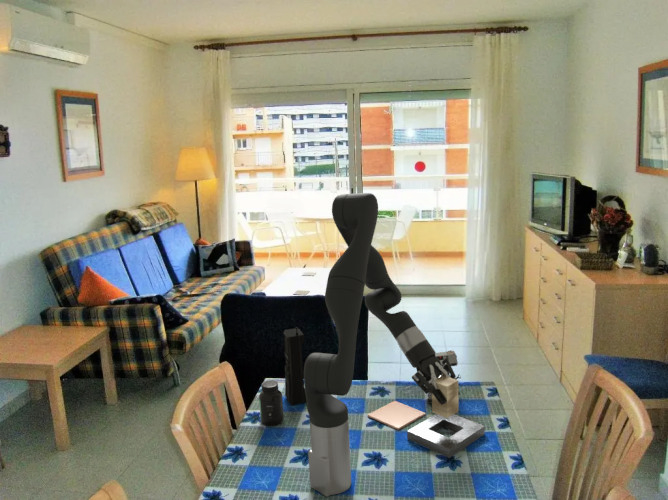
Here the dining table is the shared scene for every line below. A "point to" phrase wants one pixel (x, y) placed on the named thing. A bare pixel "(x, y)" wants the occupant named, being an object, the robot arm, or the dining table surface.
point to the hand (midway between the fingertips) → (450, 399)
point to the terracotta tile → (396, 415)
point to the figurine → (452, 360)
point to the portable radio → (294, 366)
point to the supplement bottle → (271, 404)
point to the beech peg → (451, 394)
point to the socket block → (442, 444)
